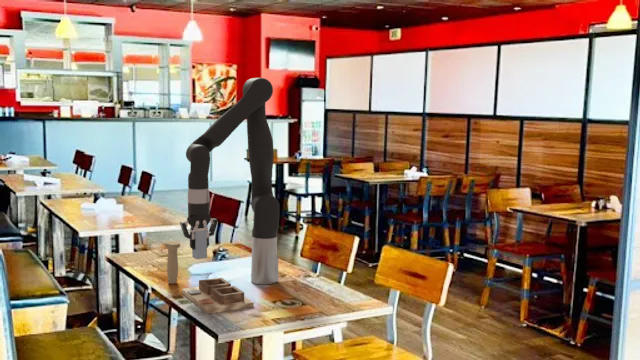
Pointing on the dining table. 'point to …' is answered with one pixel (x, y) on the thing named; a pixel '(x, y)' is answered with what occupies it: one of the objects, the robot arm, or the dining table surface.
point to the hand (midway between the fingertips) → (199, 248)
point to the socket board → (217, 296)
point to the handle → (172, 261)
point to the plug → (200, 244)
